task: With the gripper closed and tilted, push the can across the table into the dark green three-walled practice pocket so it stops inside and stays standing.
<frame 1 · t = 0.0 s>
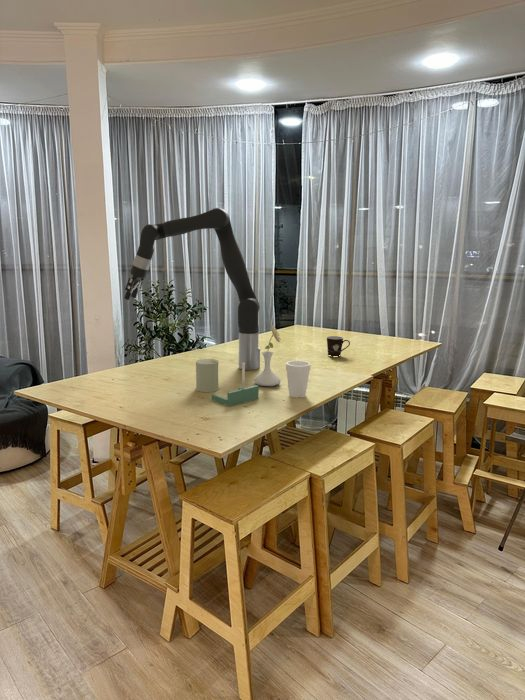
hand: (130, 298, 235), 31 cm above the table, tool tilted 20°, fingers open, 8 cm apart
can: (207, 389, 202), on the table
coffee mug: (336, 356, 262), on the table
flower in vase: (268, 384, 210), on the table
practice pocket: (231, 397, 191), on the table
foam cup: (297, 396, 195), on the table
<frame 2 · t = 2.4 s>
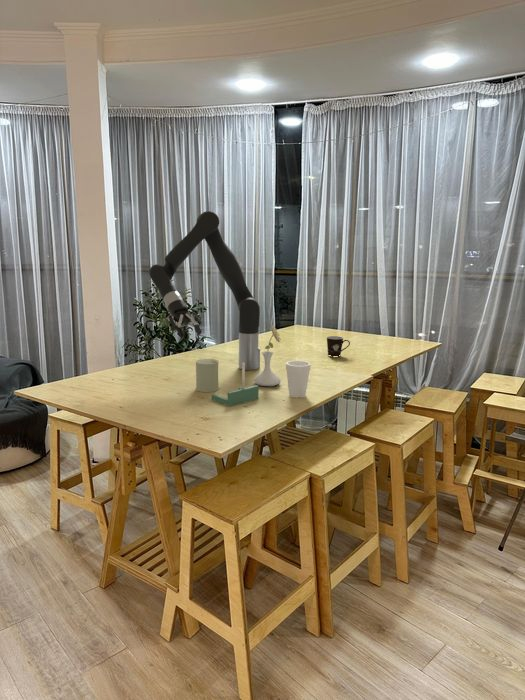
hand: (191, 335, 205), 21 cm above the table, tool tilted 45°, fingers open, 8 cm apart
nothing on the table moved.
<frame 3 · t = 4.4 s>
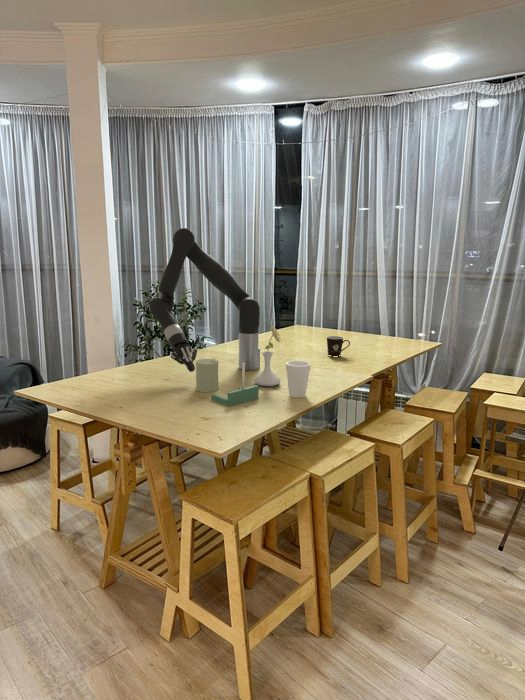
hand: (192, 370, 207), 6 cm above the table, tool tilted 45°, fingers closed
nothing on the table moved.
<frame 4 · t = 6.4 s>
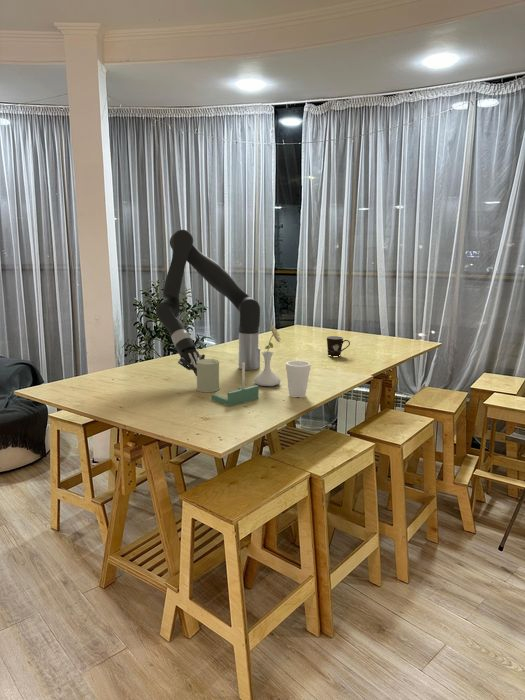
hand: (200, 376, 204), 4 cm above the table, tool tilted 45°, fingers closed
can: (208, 389, 201), on the table, touching gripper
everything else where it was.
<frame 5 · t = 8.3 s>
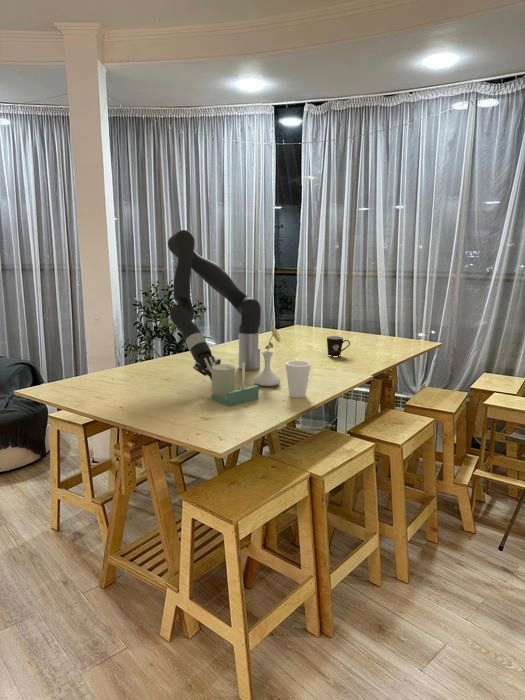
hand: (216, 382, 196), 4 cm above the table, tool tilted 45°, fingers closed
can: (223, 396, 193), on the table, touching gripper
everything else where it was.
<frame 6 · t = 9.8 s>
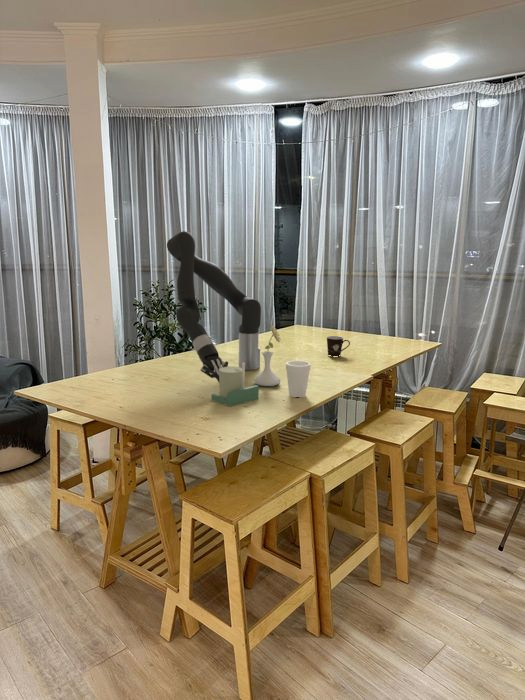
hand: (224, 384, 193), 4 cm above the table, tool tilted 45°, fingers closed
can: (230, 399, 190), on the table, touching gripper
everything else where it was.
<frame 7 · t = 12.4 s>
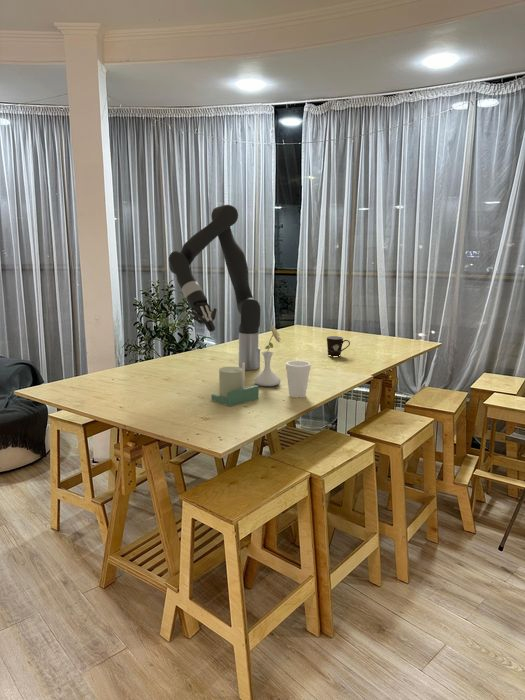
hand: (212, 330, 197), 24 cm above the table, tool tilted 40°, fingers closed
can: (231, 399, 190), on the table
everything else where it was.
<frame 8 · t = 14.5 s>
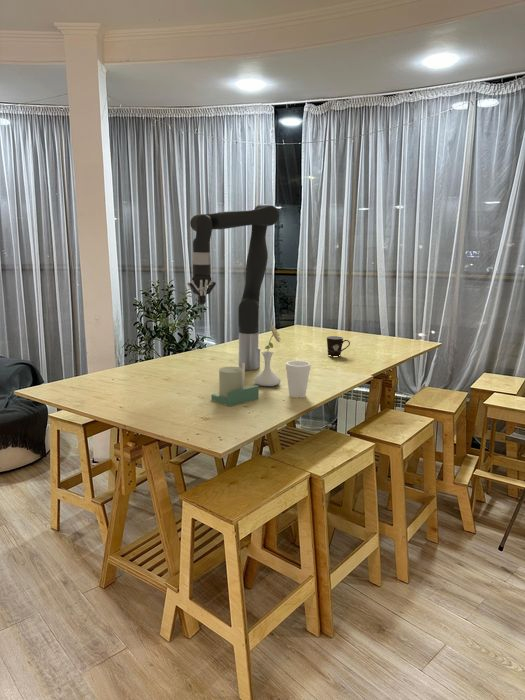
hand: (202, 304, 213), 32 cm above the table, tool pointing down, fingers closed
nothing on the table moved.
at the end: can inside the target area (1.0 cm from its centre), on the table; can tilted 0° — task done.
